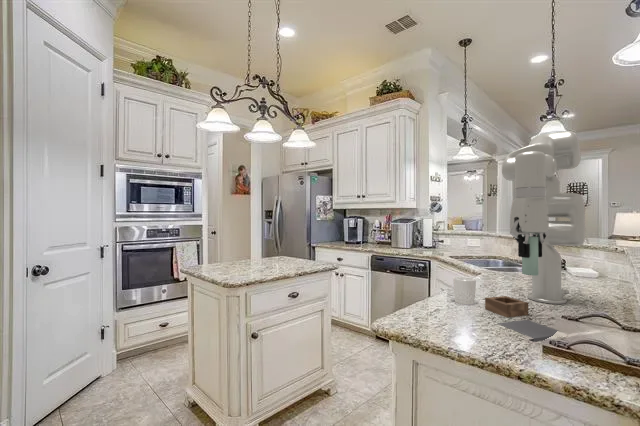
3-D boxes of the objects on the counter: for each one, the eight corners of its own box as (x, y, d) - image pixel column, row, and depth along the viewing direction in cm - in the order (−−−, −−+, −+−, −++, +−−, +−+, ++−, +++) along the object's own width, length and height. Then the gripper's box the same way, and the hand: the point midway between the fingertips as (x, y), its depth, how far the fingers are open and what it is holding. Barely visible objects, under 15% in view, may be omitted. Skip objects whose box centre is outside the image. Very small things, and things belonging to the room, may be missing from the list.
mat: (527, 322, 99) (527, 319, 99) (566, 337, 88) (566, 333, 88) (497, 326, 96) (497, 323, 96) (533, 342, 84) (533, 338, 84)
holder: (505, 309, 113) (505, 295, 113) (528, 317, 104) (528, 302, 104) (485, 312, 110) (485, 297, 110) (506, 320, 101) (506, 305, 101)
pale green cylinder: (529, 272, 94) (529, 236, 94) (541, 275, 90) (541, 237, 91) (518, 273, 93) (518, 236, 93) (531, 275, 89) (531, 237, 89)
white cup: (471, 302, 123) (471, 276, 123) (479, 308, 115) (479, 280, 115) (450, 301, 123) (450, 276, 123) (457, 307, 115) (457, 280, 115)
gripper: (539, 195, 98) (539, 254, 98) (496, 194, 93) (496, 256, 93) (564, 194, 91) (564, 257, 91) (519, 193, 86) (519, 259, 86)
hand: (530, 256), depth 92 cm, fingers closed on pale green cylinder, 4 cm apart
